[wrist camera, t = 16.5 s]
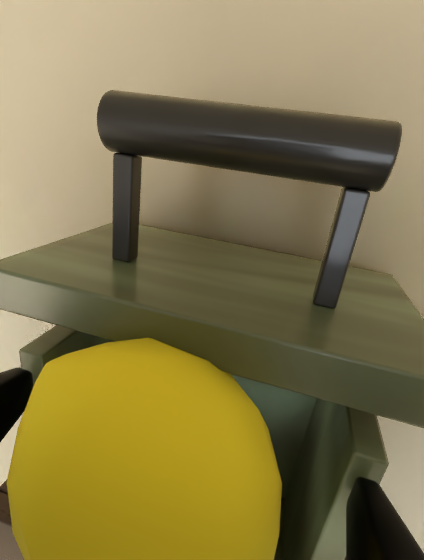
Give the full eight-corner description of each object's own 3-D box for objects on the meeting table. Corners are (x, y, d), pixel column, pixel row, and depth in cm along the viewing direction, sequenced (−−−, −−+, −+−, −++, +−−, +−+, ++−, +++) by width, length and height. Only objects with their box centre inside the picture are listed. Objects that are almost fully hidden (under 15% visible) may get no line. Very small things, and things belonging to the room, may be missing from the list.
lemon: (68, 354, 11) (-127, 521, 6) (169, 250, 8) (-20, 389, 4) (215, 495, 11) (144, 751, 7) (348, 436, 9) (391, 769, 4)
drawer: (120, 105, 13) (-51, 56, 7) (440, 143, 11) (623, 123, 4) (114, 430, 19) (22, 558, 13) (312, 498, 17) (314, 691, 11)
